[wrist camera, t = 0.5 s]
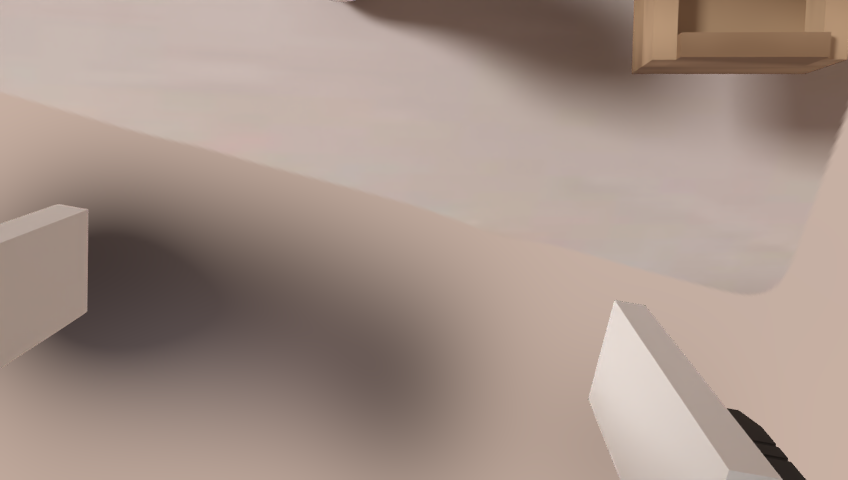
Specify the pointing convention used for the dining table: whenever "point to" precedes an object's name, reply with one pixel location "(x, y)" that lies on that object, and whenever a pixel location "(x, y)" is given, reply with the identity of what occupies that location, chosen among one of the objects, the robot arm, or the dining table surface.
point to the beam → (738, 36)
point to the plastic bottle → (342, 0)
